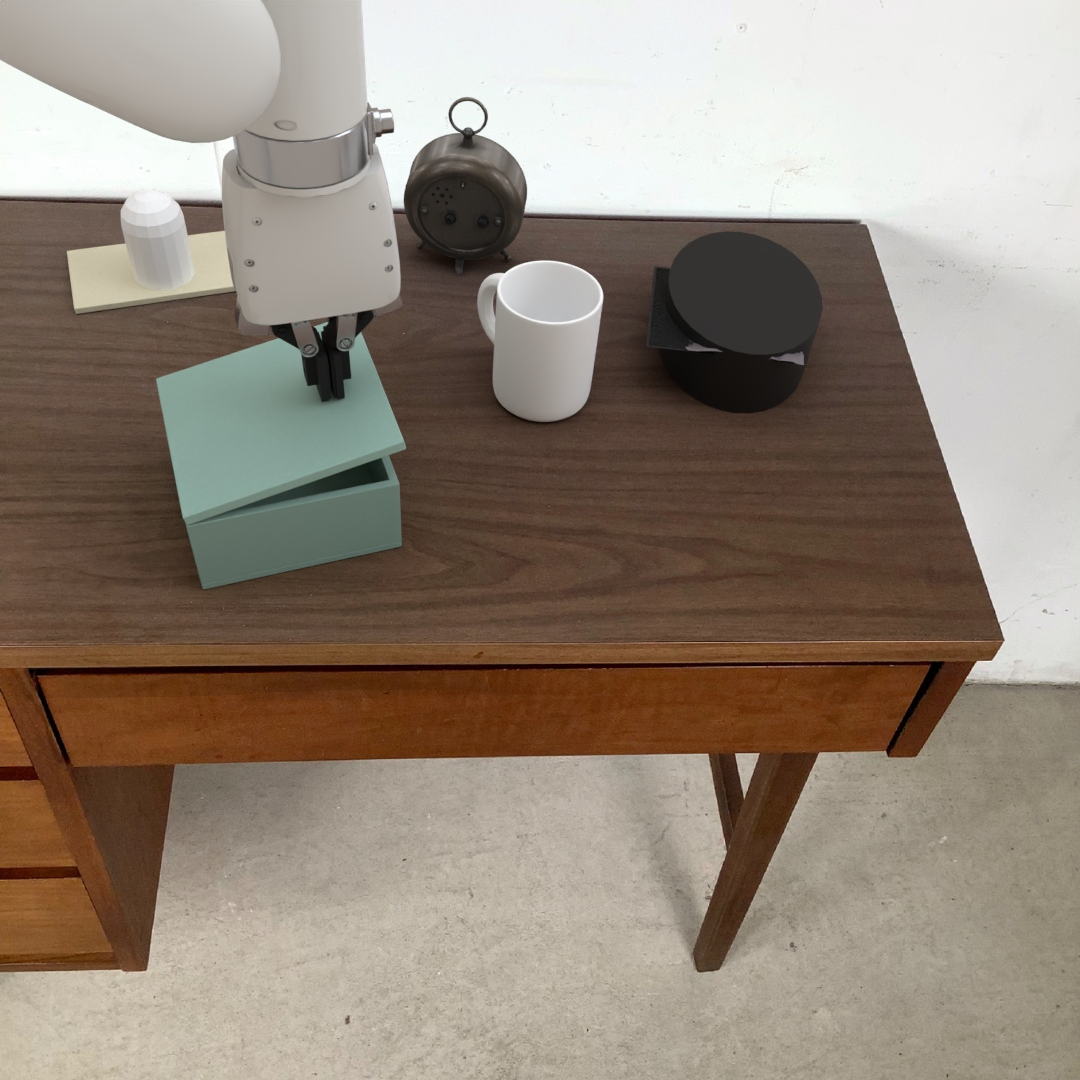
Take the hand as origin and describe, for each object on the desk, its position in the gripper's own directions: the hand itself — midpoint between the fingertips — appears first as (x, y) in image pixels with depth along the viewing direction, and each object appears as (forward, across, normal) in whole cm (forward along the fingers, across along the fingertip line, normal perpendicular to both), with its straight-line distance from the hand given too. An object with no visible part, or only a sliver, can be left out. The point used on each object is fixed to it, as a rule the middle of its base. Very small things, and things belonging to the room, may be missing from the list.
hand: (328, 386), depth 74 cm
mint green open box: (+10, +4, 0) cm, 11 cm away
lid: (+2, +4, 0) cm, 4 cm away
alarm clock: (+10, -18, -26) cm, 33 cm away
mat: (+10, +7, -31) cm, 33 cm away
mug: (+10, -18, -8) cm, 22 cm away
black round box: (+10, -37, -8) cm, 39 cm away
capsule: (+10, +9, -30) cm, 33 cm away
